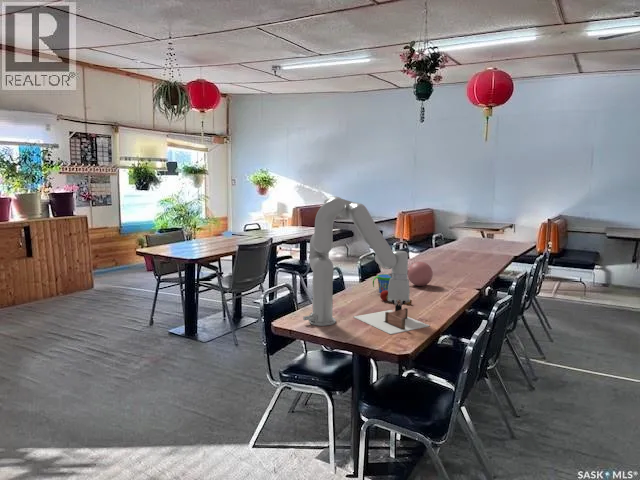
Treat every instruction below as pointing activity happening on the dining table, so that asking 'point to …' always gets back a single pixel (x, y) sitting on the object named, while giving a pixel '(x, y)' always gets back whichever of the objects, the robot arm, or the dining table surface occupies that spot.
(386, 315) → the base
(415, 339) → the dining table surface
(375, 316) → the card
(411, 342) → the dining table surface
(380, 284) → the snack cup
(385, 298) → the kendama
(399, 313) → the swing panel
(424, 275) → the balloon
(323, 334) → the dining table surface
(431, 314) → the dining table surface
